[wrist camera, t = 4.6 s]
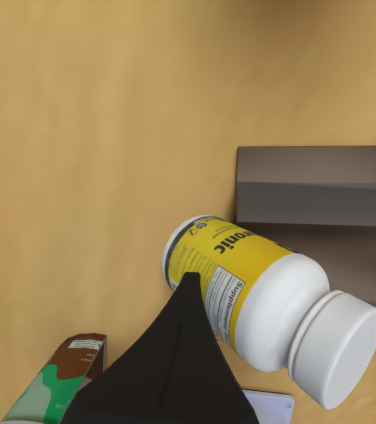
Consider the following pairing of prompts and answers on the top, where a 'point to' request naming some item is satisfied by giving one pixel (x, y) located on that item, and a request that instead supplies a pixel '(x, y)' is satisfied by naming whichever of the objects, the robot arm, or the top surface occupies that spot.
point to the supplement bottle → (275, 306)
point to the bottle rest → (315, 207)
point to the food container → (60, 380)
